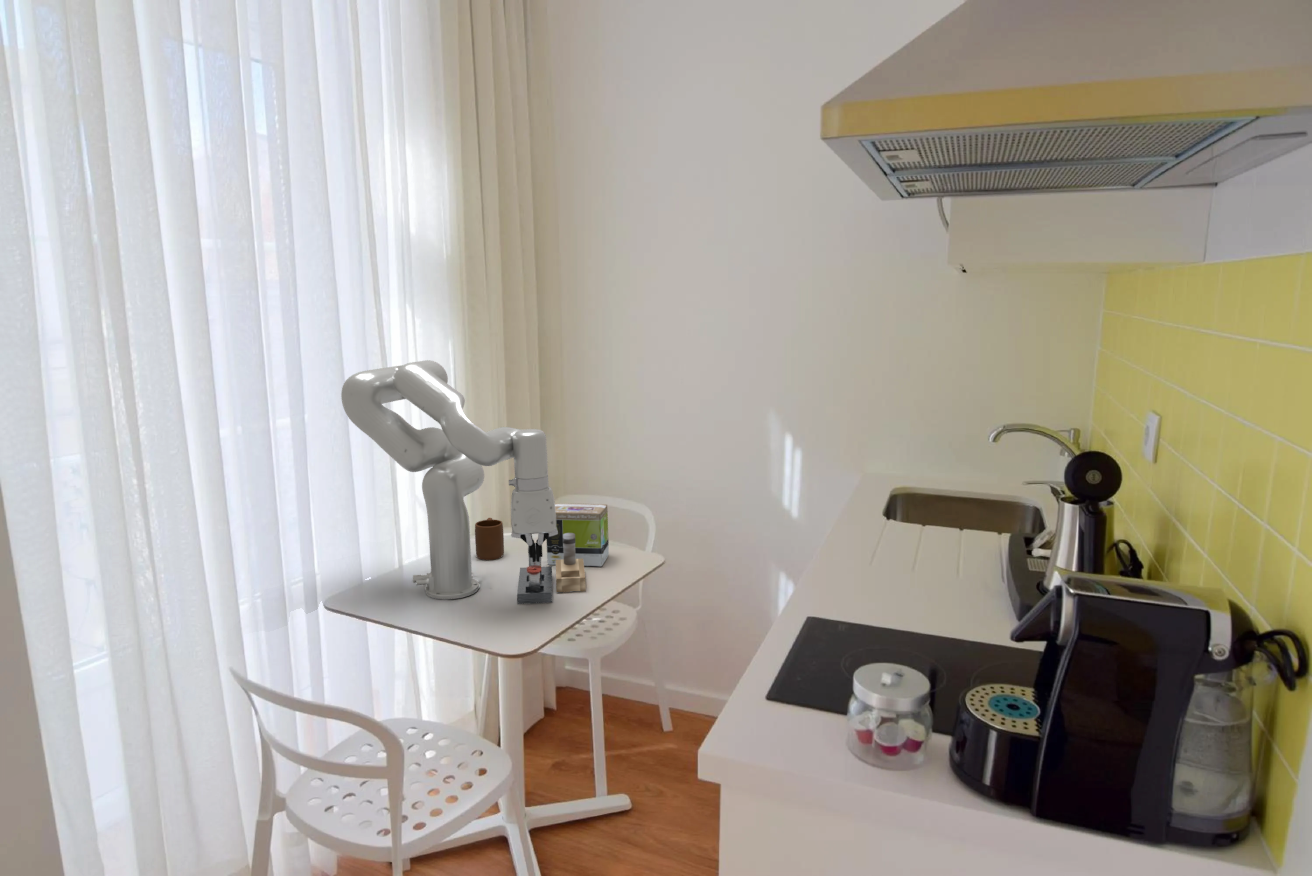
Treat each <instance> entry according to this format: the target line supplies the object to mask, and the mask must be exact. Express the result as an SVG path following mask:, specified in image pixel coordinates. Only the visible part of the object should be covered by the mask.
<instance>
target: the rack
mask: <svg viewBox="0 0 1312 876" xmlns="http://www.w3.org/2000/svg"><path fill="white" fill-rule="evenodd" d="M563 552H564V559H562V560H556V565H555V584H556V585H555V591H556V592H563V593H571V592H570V591H582V592H586V588H587V587H586V572H585V566H584V562H583V559H576V555H575V534H574V533H565V534H563Z"/></svg>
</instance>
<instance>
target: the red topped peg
mask: <svg viewBox="0 0 1312 876" xmlns="http://www.w3.org/2000/svg"><path fill="white" fill-rule="evenodd" d="M526 567H527V573H529V590H530V591H539V590H540V572H541V567H542V565H541V566H538V565H533V566H529V565H528V566H526Z"/></svg>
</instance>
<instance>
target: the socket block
mask: <svg viewBox="0 0 1312 876" xmlns="http://www.w3.org/2000/svg"><path fill="white" fill-rule="evenodd" d="M527 567H528V566H526V567H519V574H518V582H517V583H518V584H517V591H516V599H517V601H516V604H517V605H529V604H550V603H553V565H550V566H547V565H546V566H541V573H542V581H540V590H539V591H530V590H529V573H527Z"/></svg>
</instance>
